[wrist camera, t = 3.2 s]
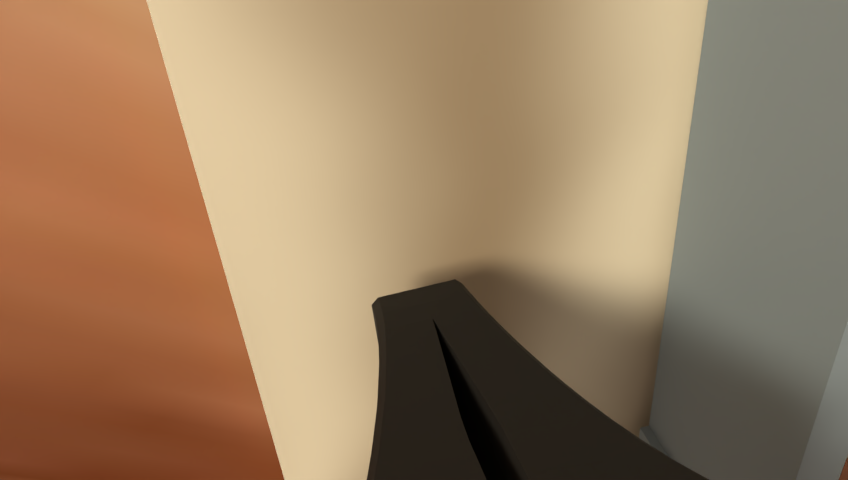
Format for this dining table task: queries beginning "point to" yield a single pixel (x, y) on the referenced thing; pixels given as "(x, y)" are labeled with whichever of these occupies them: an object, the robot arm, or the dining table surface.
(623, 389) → the beige base plate
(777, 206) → the grey flat bar
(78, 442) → the dining table surface
